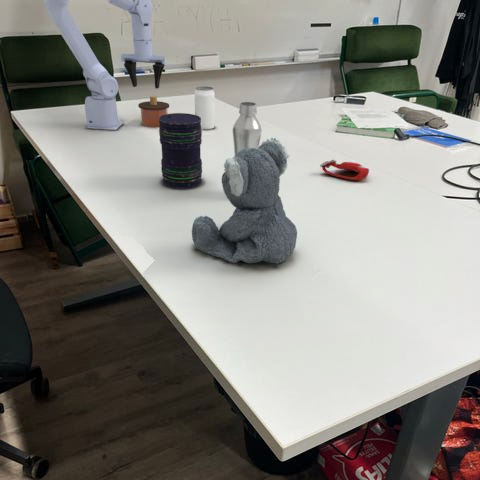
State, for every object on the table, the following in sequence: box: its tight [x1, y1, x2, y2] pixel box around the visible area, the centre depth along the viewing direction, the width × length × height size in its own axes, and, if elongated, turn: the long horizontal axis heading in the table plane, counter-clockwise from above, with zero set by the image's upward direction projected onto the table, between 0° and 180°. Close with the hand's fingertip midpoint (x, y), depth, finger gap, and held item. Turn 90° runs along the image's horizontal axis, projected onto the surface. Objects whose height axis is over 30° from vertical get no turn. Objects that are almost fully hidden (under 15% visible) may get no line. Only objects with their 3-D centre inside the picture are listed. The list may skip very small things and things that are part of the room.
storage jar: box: [158, 112, 203, 190], centre depth 114 cm, size 10×10×15 cm
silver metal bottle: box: [232, 101, 263, 157], centre depth 107 cm, size 6×7×20 cm
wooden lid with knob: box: [137, 95, 170, 110], centre depth 156 cm, size 10×10×3 cm
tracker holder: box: [319, 159, 370, 182], centre depth 125 cm, size 12×4×10 cm
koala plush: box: [191, 137, 298, 265], centre depth 85 cm, size 17×18×20 cm
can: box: [194, 85, 216, 131], centre depth 156 cm, size 6×6×12 cm
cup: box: [140, 108, 169, 128], centre depth 159 cm, size 9×9×6 cm
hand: (146, 87), depth 158 cm, fingers open, 7 cm apart
